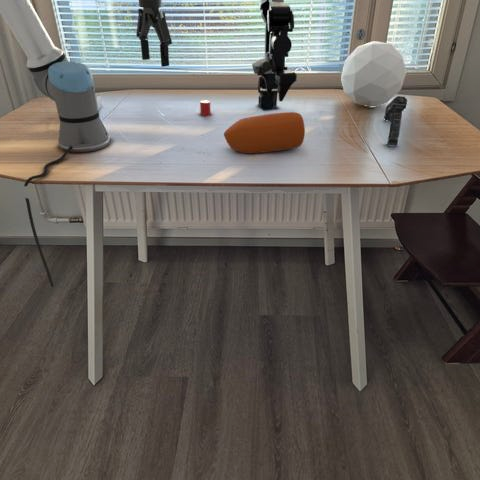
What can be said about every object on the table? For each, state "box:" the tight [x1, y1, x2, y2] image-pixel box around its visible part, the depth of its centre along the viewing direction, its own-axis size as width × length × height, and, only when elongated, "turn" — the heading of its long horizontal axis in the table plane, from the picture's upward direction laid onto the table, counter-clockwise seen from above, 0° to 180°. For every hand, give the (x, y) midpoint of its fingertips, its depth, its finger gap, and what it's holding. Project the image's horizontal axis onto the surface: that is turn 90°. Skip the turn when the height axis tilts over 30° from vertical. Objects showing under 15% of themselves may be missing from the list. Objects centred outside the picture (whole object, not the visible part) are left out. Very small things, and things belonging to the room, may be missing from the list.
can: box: [199, 99, 211, 117], centre depth 154 cm, size 4×4×5 cm
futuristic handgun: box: [383, 95, 408, 147], centre depth 138 cm, size 4×29×15 cm, turn 164°
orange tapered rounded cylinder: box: [223, 111, 306, 154], centre depth 125 cm, size 12×11×25 cm
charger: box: [96, 94, 103, 111], centre depth 158 cm, size 5×9×15 cm
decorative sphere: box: [340, 40, 408, 109], centre depth 161 cm, size 24×25×25 cm
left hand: (155, 62), depth 145 cm, fingers open, 13 cm apart
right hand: (274, 97), depth 143 cm, fingers open, 9 cm apart
